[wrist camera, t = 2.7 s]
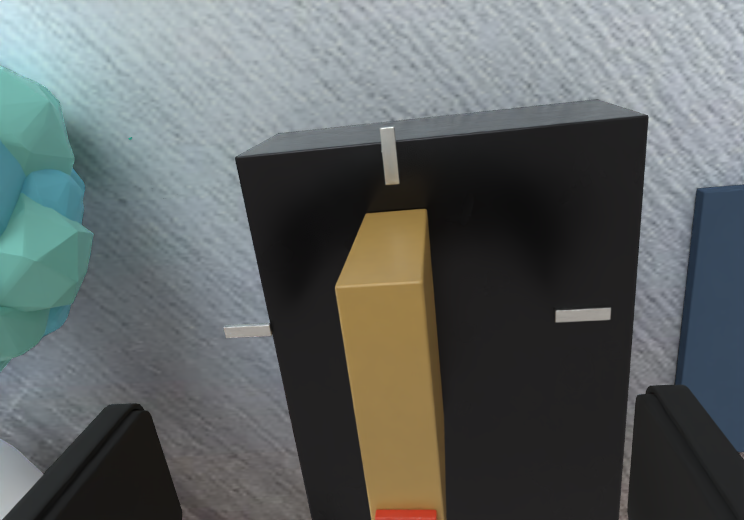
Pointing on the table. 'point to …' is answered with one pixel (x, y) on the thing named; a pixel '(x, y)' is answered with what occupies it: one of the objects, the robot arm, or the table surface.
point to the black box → (467, 296)
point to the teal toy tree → (37, 217)
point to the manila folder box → (395, 365)
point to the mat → (716, 310)
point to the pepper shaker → (14, 477)
